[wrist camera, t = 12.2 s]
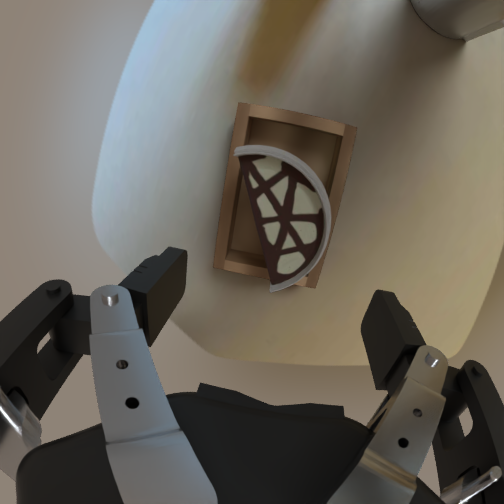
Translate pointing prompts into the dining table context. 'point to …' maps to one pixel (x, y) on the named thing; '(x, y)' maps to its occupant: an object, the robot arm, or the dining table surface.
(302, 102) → the dining table surface
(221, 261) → the wooden box
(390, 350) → the robot arm
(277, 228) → the food container
